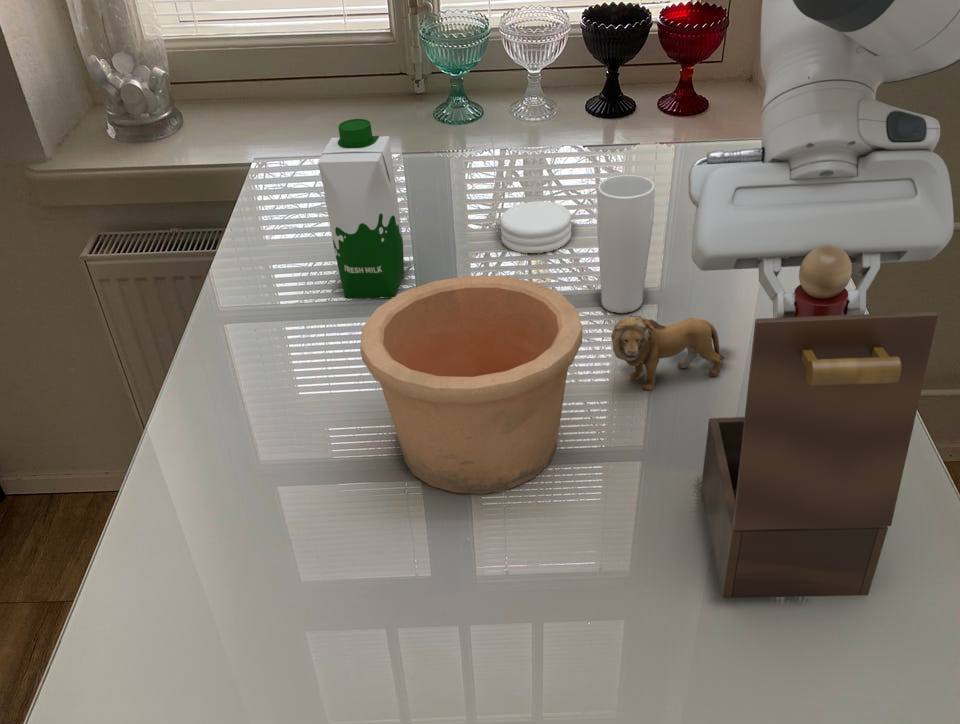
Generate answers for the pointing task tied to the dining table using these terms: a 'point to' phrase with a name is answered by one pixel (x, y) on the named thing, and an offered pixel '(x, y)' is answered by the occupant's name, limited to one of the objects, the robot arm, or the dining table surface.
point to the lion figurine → (664, 344)
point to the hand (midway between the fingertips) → (819, 317)
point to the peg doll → (823, 283)
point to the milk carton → (363, 211)
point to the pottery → (474, 377)
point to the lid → (830, 419)
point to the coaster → (536, 227)
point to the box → (778, 538)
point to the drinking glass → (624, 239)
